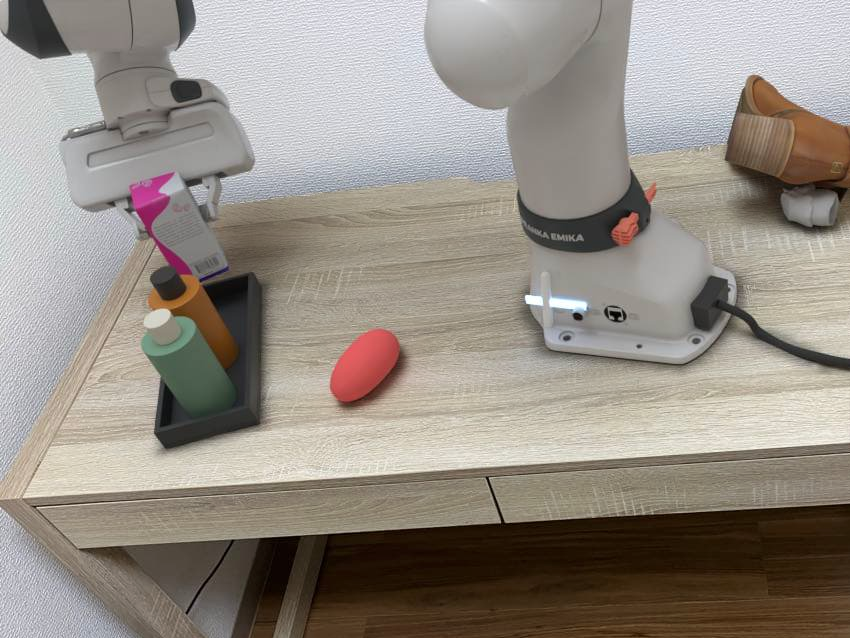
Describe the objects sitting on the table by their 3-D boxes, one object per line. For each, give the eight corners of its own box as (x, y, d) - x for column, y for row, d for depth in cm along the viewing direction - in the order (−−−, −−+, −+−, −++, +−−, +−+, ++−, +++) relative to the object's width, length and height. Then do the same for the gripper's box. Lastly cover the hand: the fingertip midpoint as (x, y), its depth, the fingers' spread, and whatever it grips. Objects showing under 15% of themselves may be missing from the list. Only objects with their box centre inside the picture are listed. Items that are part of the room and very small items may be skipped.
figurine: (847, 220, 101) (817, 240, 99) (791, 196, 106) (761, 215, 104) (849, 190, 98) (818, 210, 96) (791, 167, 103) (761, 186, 101)
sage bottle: (247, 390, 98) (196, 305, 89) (212, 427, 95) (155, 344, 86) (211, 377, 101) (157, 293, 92) (176, 413, 98) (117, 330, 89)
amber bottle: (248, 347, 103) (200, 262, 94) (215, 381, 100) (162, 297, 91) (214, 335, 105) (163, 252, 96) (180, 368, 103) (125, 286, 93)
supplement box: (221, 244, 109) (177, 163, 101) (231, 270, 106) (186, 188, 97) (175, 263, 108) (126, 183, 100) (183, 290, 105) (133, 209, 96)
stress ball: (424, 378, 97) (408, 321, 95) (353, 408, 91) (336, 348, 90) (397, 377, 101) (381, 322, 99) (328, 405, 95) (310, 347, 94)
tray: (180, 308, 111) (170, 292, 109) (261, 286, 111) (253, 270, 109) (165, 449, 95) (153, 433, 93) (259, 423, 95) (249, 407, 93)
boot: (729, 130, 119) (873, 164, 116) (713, 197, 99) (887, 239, 97) (748, 60, 113) (900, 94, 111) (736, 115, 94) (920, 158, 92)
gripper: (39, 125, 98) (75, 250, 99) (222, 76, 99) (257, 200, 99) (68, 140, 105) (102, 257, 105) (240, 94, 105) (273, 211, 105)
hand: (179, 229), depth 102 cm, fingers closed on supplement box, 6 cm apart
